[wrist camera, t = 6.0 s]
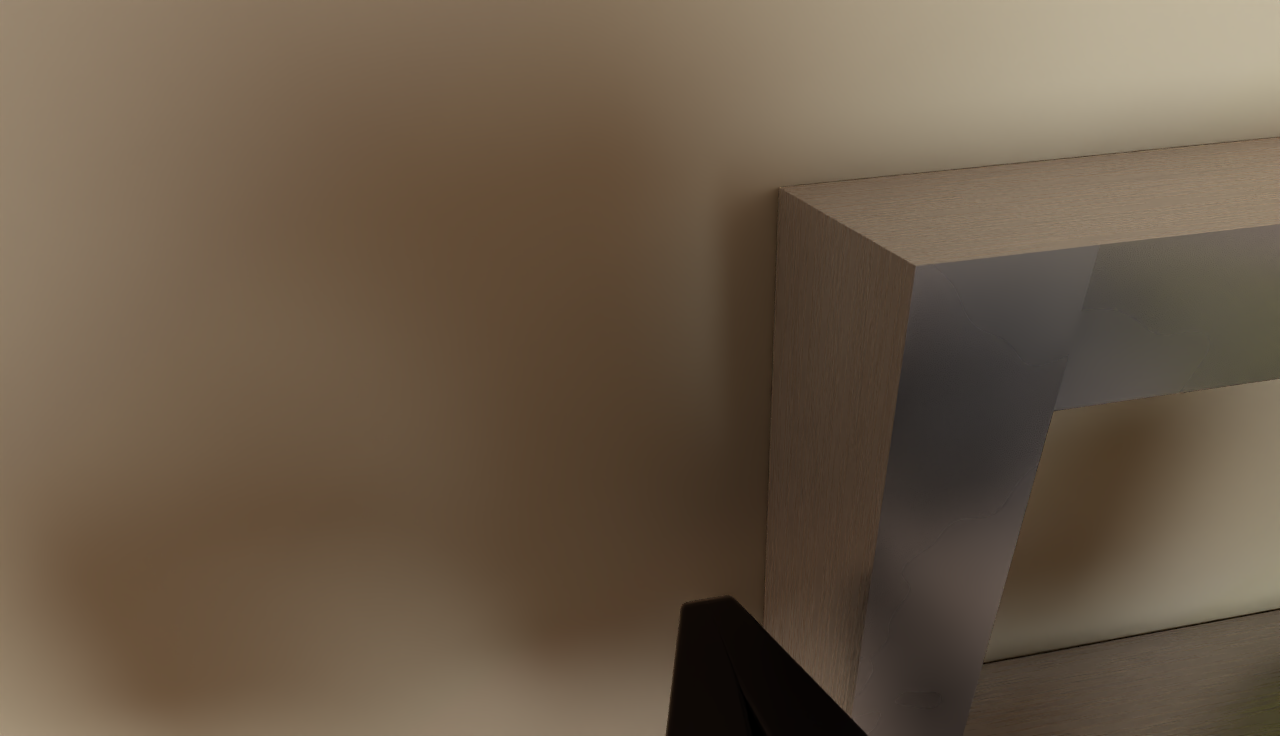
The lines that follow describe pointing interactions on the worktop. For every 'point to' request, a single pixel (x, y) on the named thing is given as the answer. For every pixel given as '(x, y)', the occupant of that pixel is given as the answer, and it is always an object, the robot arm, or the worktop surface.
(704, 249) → the worktop surface
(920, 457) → the u collar
